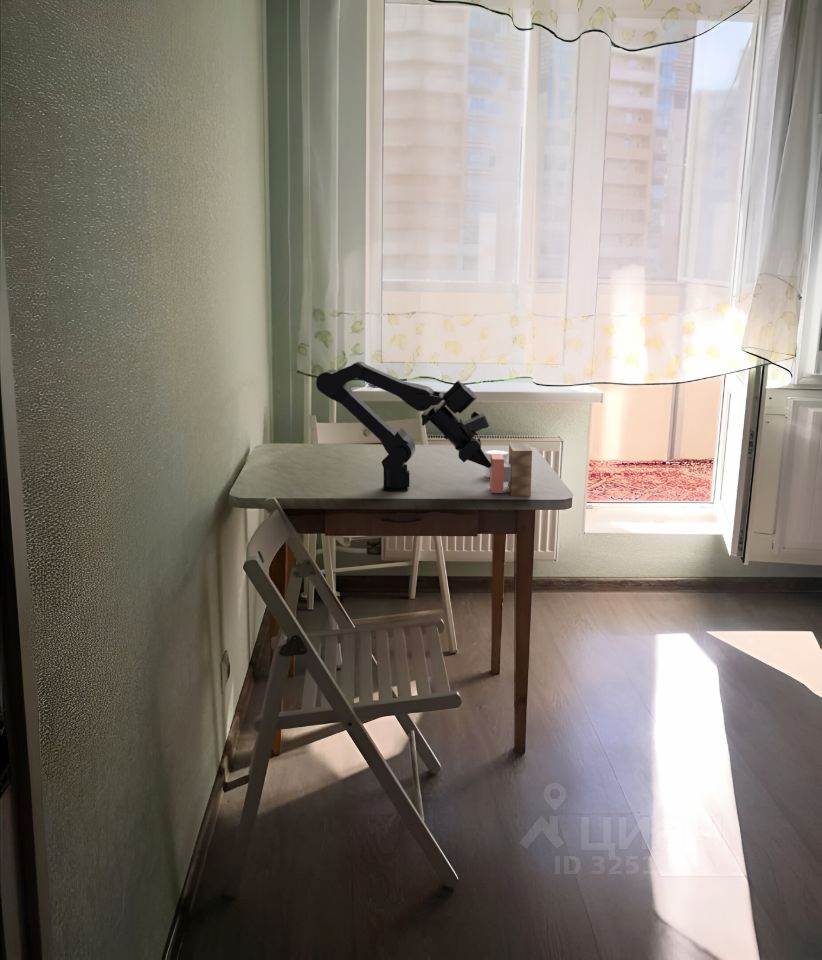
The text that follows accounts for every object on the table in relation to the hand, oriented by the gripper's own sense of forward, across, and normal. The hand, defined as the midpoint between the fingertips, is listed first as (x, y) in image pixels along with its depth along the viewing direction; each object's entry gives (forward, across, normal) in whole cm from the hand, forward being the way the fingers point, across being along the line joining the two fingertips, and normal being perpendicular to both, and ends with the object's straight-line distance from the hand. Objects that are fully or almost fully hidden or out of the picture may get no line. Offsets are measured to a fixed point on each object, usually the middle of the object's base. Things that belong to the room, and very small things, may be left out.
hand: (490, 466), depth 243 cm
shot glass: (+7, +17, +3) cm, 19 cm away
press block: (+10, 0, -1) cm, 10 cm away
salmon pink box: (+8, 0, +1) cm, 8 cm away
